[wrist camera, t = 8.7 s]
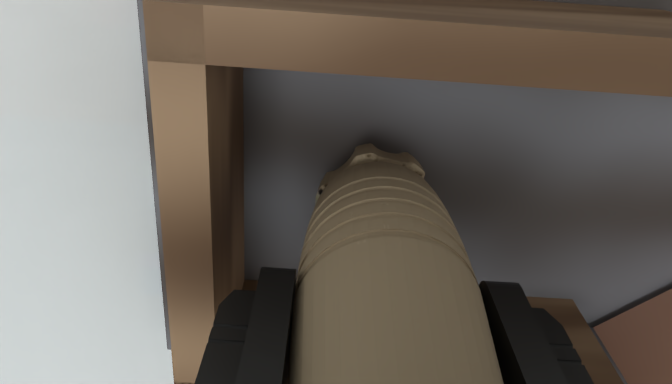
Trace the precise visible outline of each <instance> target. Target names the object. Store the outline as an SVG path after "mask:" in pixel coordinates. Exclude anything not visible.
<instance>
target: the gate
mask: <svg viewBox="0 0 672 384" xmlns="http://www.w3.org/2000/svg"><path fill="white" fill-rule="evenodd" d="M590 329H591V330H592V332H593V334H594V335H595V337H596V339H597V340H598V342H599V344H600V345H601V347H602V349H603V350H604V352H605V353H606V355H607V357H608V358H609V360H610V362H611V363H612V365H613V367H614V368H615V370H616V372H617V373H618V375H619V377H620V378H621V380H622V381H623V383H624V384H672V289H670V290H668V291H666V292H664V293H662V294H660V295H658V296H656V297H654V298H652V299H650V300H648V301H646V302H644V303H642V304H640V305H638V306H636V307H634V308H632V309H630V310H628V311H626V312H624V313H621V314H619V315H617V316H615V317H613V318H611V319H609V320H607V321H605V322H603V323H601V324H599V325H597V326H595V327H593V328H592V327H590Z"/></svg>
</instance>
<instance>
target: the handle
mask: <svg viewBox="0 0 672 384" xmlns="http://www.w3.org/2000/svg"><path fill="white" fill-rule="evenodd" d="M424 176H425V172H424V170H423V168H422V166H421V164H420V163H419V162H418V161H417V160H416V159H415V158H414V157H413V156H412V155H410V154H409V153H408V152H402V153H399V154H395V153H388V152H385V151H382V150H380V149H378V148H376V147H375V146H374V145H373V144H371V143H369V144H363V145H359V146H357V147H356V148H355V151H354V153H353V154H352V156H351V157H350V158H349V159H348V161H347V162H346V163H345V164H343V165H342V166H341V167H339V168H338V169H336V170H334V171H330V172H327V173H326V174H325V176H324V178H323V179H322V181H321V183H320V186H319V188H318V191H317V195H316V200H315V207H314V210H313V213H312V216H311V219H310V222H309V225H308V228H307V232H306V236H305V240H304V245H303V248H302V253H301V257H300V262H299V268H298V274H297V280H296V287H295V298H294V303H293V313H292V324H291V336H290V349H289V369H288V384H504V383H503V379H502V375H501V371H500V367H499V363H498V359H497V355H496V351H495V347H494V343H493V339H492V335H491V331H490V327H489V323H488V319H487V315H486V311H485V307H484V303H483V298H482V294H481V291H480V288H479V286H478V282H477V279H476V276H475V274H474V271H473V269H472V266H471V263H470V260H469V257H468V255H467V252H466V250H465V247H464V245H463V242H462V240H461V238H460V236H459V234H458V232H457V229H456V227H455V225H454V223H453V221H452V219H451V217H450V215H449V213H448V211H447V209H446V208H445V206H444V205H443V203H442V201H441V200H440V198H439V197H438V195H437V194H436V192H435V191H434V190H433V189H432V188H431V186H430V185H429V184H428V183H427V182H426V181H425V180H424Z"/></svg>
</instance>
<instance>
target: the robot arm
mask: <svg viewBox="0 0 672 384" xmlns="http://www.w3.org/2000/svg"><path fill="white" fill-rule="evenodd" d="M295 287H296V269H290V268H273V267H261V270H260V275H259V279H258V284H257V288H256V291H251V290H233V291H232V292H231V293H230V294H229V295H228V296H227V297H226V298H225V299H224V300H223V301H222V302H221V303H220V304H219V306H218V309H217V313H216V316H215V319H214V322H213V327H212V329H211V332H210V335H209V338H208V343H207V345H206V348H205V351H204V354H203V358H202V361H201V364H200V367H199V371H198V374H197V377H196V380H195V383H194V384H288V369H289V349H290V336H291V324H292V313H293V303H294V298H295ZM479 288H480V291H481V294H482V298H483V303H484V307H485V311H486V315H487V319H488V323H489V327H490V331H491V335H492V339H493V343H494V347H495V351H496V355H497V359H498V363H499V367H500V371H501V375H502V379H503V383H504V384H594V383H593V381H592V379H591V377H590V375H589V373H588V371H587V370H586V368H585V366H584V365H582V363H581V362H582V360H581V359H580V357H579V355H578V353H577V351H576V349H574V348H573V344H572V342H571V340H570V338H569V336H568V335H567V333H566V331H565V329H564V327H563V325H562V324H560V323H559V322H558V321H557V320H556V319H555V318H554V317H553V316H552V315H551V314H549V313H548V312H547V311H546V310H545V309H544V308H531V305H530V303H529V301H528V299H527V297H526V295H525V293H524V291H523V289H522V287H521V285H520V284H519V283H515V282H499V281H481V282H480V284H479Z"/></svg>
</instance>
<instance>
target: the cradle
mask: <svg viewBox="0 0 672 384" xmlns="http://www.w3.org/2000/svg"><path fill="white" fill-rule="evenodd" d="M137 6H138V17H139V29H140V40H141V52H142V63H143V74H144V86H145V97H146V109H147V120H148V132H149V143H150V155H151V166H152V178H153V189H154V201H155V212H156V224H157V235H158V246H159V258H160V269H161V281H162V292H163V304H164V315H165V327H166V338H167V349H170V350H171V351H172V363H173V375H174V384H194V383H195V380H196V377H197V374H198V371H199V367H200V364H201V361H202V358H203V354H204V351H205V348H206V345H207V343H208V338H209V335H210V332H211V329H212V327H213V322H214V319H215V316H216V313H217V309H218V306H219V304H220V303H221V302H222V301H223V300H224V299H225V298H226V297H227V296H228V295H229V294H230V293H231V292H232V291H233V290H251V291H256V288H257V284H258V279H259V275H260V270H261V267H273V268H290V269H296V280H297V274H298V268H299V262H300V257H301V253H302V248H303V245H304V240H305V236H306V232H307V228H308V225H309V222H310V219H311V216H312V213H313V210H314V207H315V200H316V195H317V191H318V188H319V186H320V183H321V181H322V179H323V178H324V176H325V174H326V173H327V172H330V171H334V170H336V169H338V168H339V167H341V166H342V165H343V164H345V163H346V162H347V161H348V159H349V158H350V157H351V156H352V154H353V153H354V151H355V148H356V147H357V146H359V145H363V144H369V143H371V144H373V145H374V146H375V147H376V148H378V149H380V150H382V151H385V152H388V153H395V154H399V153H402V152H408V153H409V154H410V155H412V156H413V157H414V158H415V159H416V160H417V161H418V162H419V163H420V164H421V166H422V168H423V170H424V172H425V176H424V180H425V181H426V182H427V183H428V184H429V185H430V186H431V188H432V189H433V190H434V191H435V192H436V194H437V195H438V197H439V198H440V200H441V201H442V203H443V205H444V206H445V208H446V209H447V211H448V213H449V215H450V217H451V219H452V221H453V223H454V225H455V227H456V229H457V232H458V234H459V236H460V238H461V240H462V242H463V245H464V247H465V250H466V252H467V255H468V257H469V260H470V263H471V266H472V269H473V271H474V274H475V276H476V279H477V282H478V286H479V284H480V282H481V281H499V282H515V283H519V284H520V285H521V287H522V289H523V291H524V293H525V295H526V297H527V299H528V301H529V303H530V305H531V308H544V309H545V310H546V311H547V312H548V313H549V314H551V315H552V316H553V317H554V318H555V319H556V320H557V321H558V322H559V323H560V324H562V325H563V327H564V329H565V331H566V333H567V335H568V336H569V338H570V340H571V342H572V344H573V348H574V349H576V351H577V353H578V355H579V357H580V359H581V360H582V362H581V363H582V365H584V366H585V368H586V370H587V371H588V373H589V375H590V377H591V379H592V381H593V383H594V384H624V383H623V381H622V380H621V378H620V377H619V375H618V373H617V372H616V370H615V368H614V367H613V365H612V363H611V362H610V360H609V358H608V357H607V355H606V353H605V352H604V350H603V349H602V347H601V345H600V344H599V342H598V340H597V339H596V337H595V335H594V334H593V332H592V330H591V329H590V327H592V328H593V327H595V326H597V325H599V324H601V323H603V322H605V321H607V320H609V319H611V318H613V317H615V316H617V315H619V314H621V313H624V312H626V311H628V310H630V309H632V308H634V307H636V306H638V305H640V304H642V303H644V302H646V301H648V300H650V299H652V298H654V297H656V296H658V295H660V294H662V293H664V292H666V291H668V290H670V289H672V0H137Z"/></svg>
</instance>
